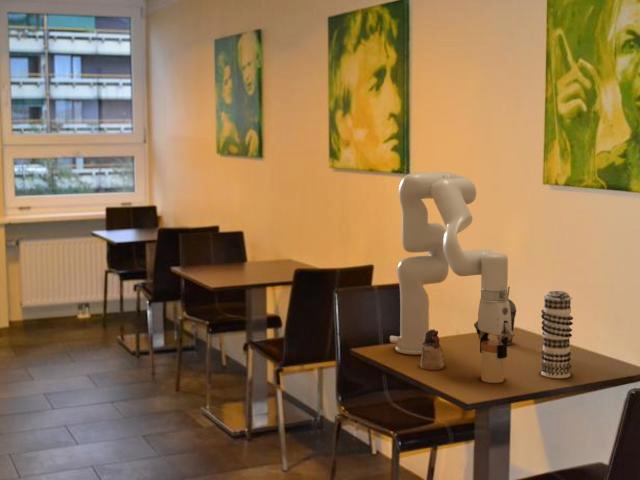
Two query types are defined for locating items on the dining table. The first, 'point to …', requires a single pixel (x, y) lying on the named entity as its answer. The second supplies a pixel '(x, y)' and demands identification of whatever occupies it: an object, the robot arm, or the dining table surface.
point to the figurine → (432, 352)
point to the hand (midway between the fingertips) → (493, 354)
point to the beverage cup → (513, 313)
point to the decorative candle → (556, 335)
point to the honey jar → (492, 367)
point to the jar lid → (489, 345)
